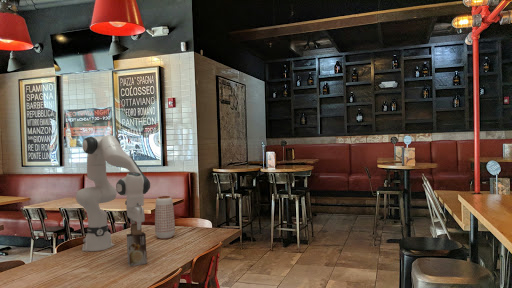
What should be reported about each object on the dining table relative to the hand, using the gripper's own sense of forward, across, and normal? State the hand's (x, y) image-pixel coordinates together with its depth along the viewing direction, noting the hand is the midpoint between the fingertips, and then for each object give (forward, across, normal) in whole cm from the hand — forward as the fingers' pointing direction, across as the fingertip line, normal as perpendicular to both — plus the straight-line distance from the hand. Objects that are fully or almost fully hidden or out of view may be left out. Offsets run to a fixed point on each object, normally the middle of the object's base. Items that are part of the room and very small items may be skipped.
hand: (136, 228), depth 199 cm
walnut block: (+3, 0, 0) cm, 3 cm away
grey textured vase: (+19, +46, -33) cm, 60 cm away
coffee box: (+19, 0, 0) cm, 19 cm away
